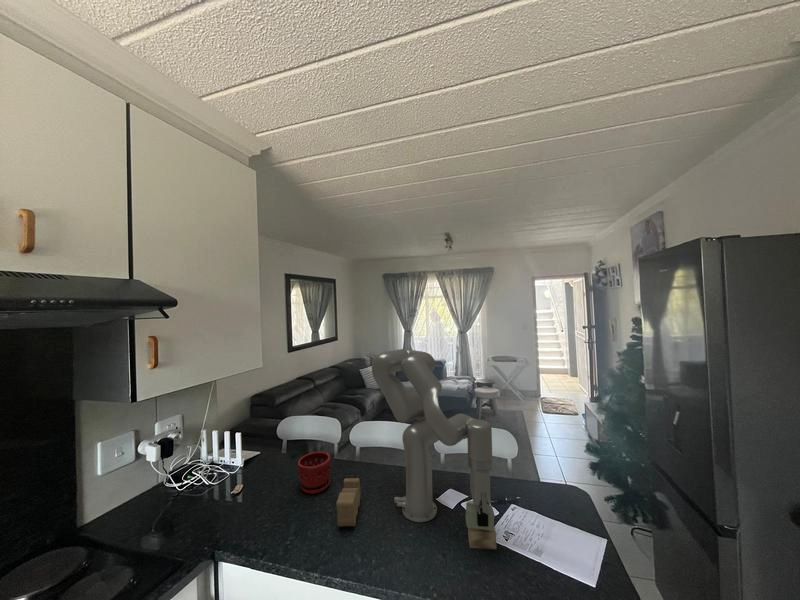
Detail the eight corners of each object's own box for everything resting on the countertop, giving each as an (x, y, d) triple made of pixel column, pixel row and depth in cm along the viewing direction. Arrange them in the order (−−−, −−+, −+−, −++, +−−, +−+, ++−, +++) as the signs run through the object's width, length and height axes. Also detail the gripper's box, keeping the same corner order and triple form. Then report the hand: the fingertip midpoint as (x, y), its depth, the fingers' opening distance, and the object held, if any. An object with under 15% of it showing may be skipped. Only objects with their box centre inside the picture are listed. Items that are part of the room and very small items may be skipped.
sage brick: (466, 527, 95) (468, 511, 95) (465, 518, 99) (466, 502, 99) (493, 530, 94) (494, 514, 94) (490, 521, 98) (491, 505, 98)
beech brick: (469, 548, 95) (469, 531, 95) (468, 538, 99) (467, 522, 99) (496, 549, 94) (496, 533, 94) (493, 539, 98) (493, 523, 98)
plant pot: (317, 475, 137) (316, 448, 138) (337, 485, 130) (337, 456, 130) (291, 489, 127) (291, 460, 127) (312, 501, 119) (311, 470, 119)
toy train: (360, 500, 119) (360, 474, 119) (353, 533, 102) (352, 502, 102) (346, 500, 119) (345, 474, 119) (336, 533, 102) (336, 502, 102)
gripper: (464, 448, 106) (466, 502, 105) (471, 475, 89) (473, 540, 89) (487, 449, 105) (488, 503, 105) (498, 476, 88) (499, 541, 88)
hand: (481, 519), depth 97 cm, fingers closed on sage brick, 4 cm apart
